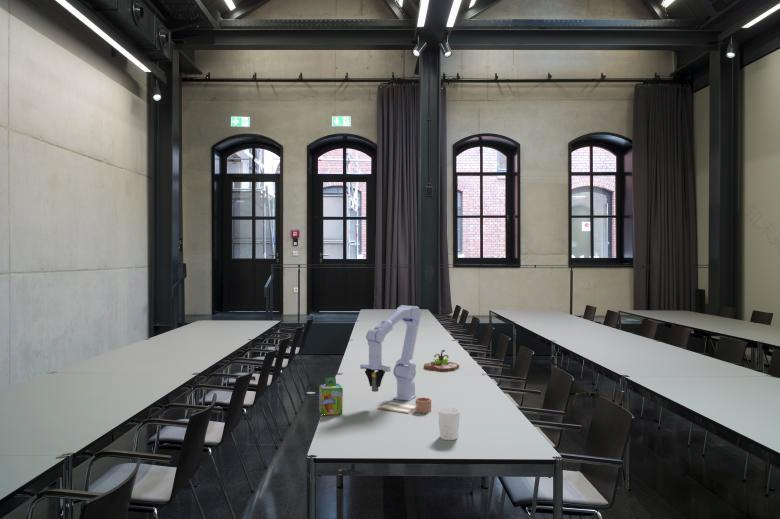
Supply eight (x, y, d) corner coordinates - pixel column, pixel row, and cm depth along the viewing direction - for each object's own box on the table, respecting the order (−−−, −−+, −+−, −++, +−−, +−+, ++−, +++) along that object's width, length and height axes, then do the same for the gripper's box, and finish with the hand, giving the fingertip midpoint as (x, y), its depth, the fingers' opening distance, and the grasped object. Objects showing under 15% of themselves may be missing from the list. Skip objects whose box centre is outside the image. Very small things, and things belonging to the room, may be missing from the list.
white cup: (457, 433, 208) (457, 407, 208) (461, 440, 200) (461, 413, 200) (437, 434, 208) (437, 407, 208) (439, 441, 200) (439, 414, 200)
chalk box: (321, 416, 230) (321, 381, 230) (318, 410, 239) (318, 376, 239) (343, 414, 232) (343, 380, 232) (339, 408, 241) (339, 375, 241)
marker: (373, 389, 246) (373, 372, 246) (379, 390, 244) (379, 372, 244) (370, 391, 243) (370, 373, 243) (376, 392, 242) (376, 374, 242)
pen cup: (419, 408, 243) (419, 396, 243) (432, 410, 240) (432, 398, 240) (413, 411, 237) (413, 400, 237) (427, 413, 234) (427, 402, 234)
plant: (464, 368, 330) (464, 349, 330) (447, 373, 315) (447, 354, 315) (436, 363, 343) (437, 346, 343) (418, 368, 327) (419, 350, 327)
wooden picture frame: (390, 402, 252) (390, 401, 252) (419, 406, 245) (419, 405, 245) (377, 409, 241) (377, 407, 241) (408, 413, 234) (408, 412, 234)
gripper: (356, 356, 243) (356, 386, 244) (385, 359, 237) (385, 390, 237) (364, 353, 250) (364, 383, 250) (392, 356, 243) (392, 386, 243)
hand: (375, 386), depth 244 cm, fingers closed on marker, 3 cm apart
